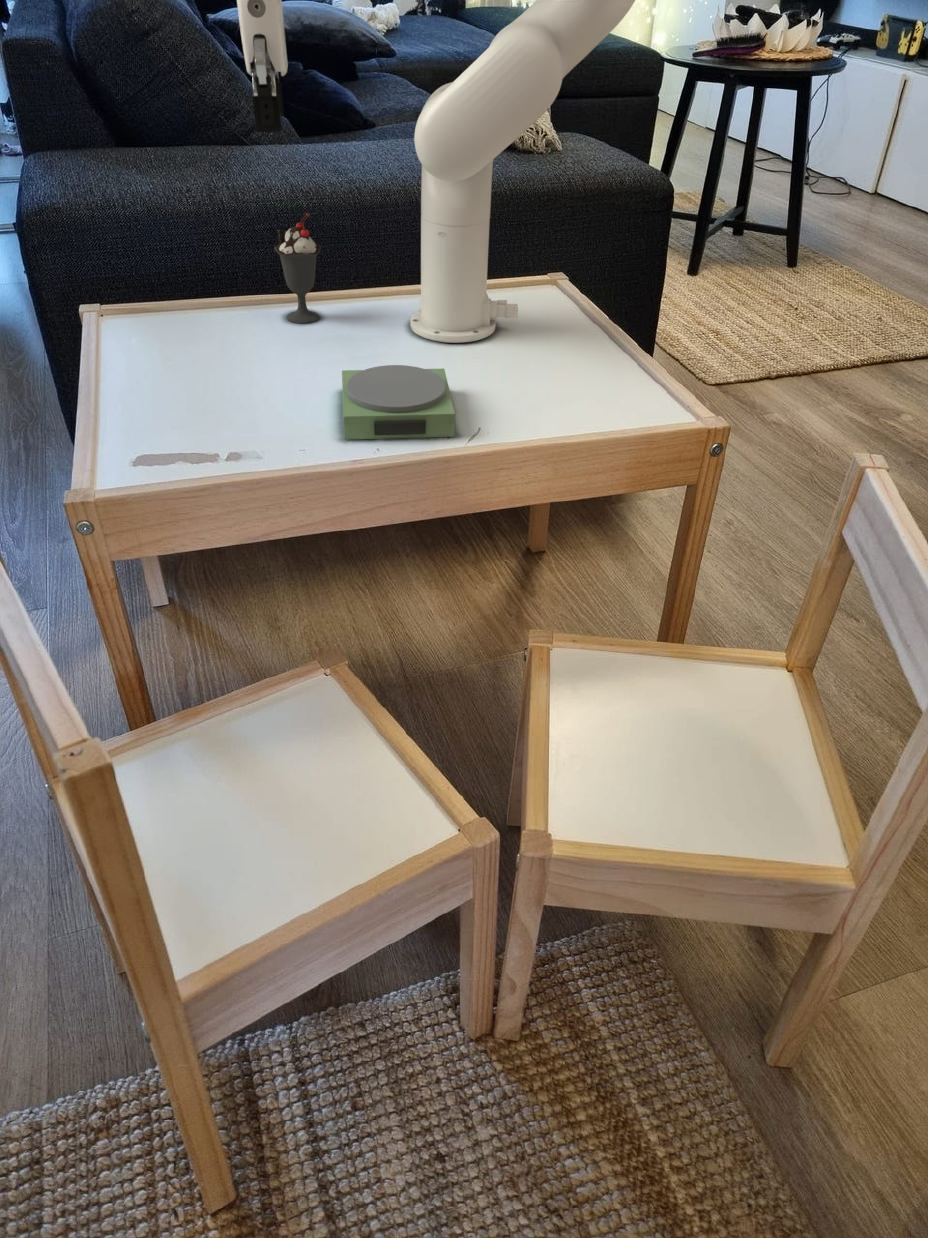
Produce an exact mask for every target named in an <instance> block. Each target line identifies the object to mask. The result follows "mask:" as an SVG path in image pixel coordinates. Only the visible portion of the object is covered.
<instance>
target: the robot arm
mask: <svg viewBox="0 0 928 1238" xmlns="http://www.w3.org/2000/svg"><path fill="white" fill-rule="evenodd" d="M635 2H636V0H536V1H534V2H533V3H532V4H531V5H530V6H529V7H528V8H527V9H526V10H525V11H523V12H522V14H520V15H519V16H518V17H517V18H515V19H514V20H513V21H512V22H511V23H509V24H507V25H506V26H504V27H503V28H502V29H501V30H500V31H498V33H497V34H496V35H495V36H494V38H493V39H492V41H491V42H490V43H489V46H488V48H487V49H485V50H484V51H483V52H482V53H481V54H480V55H479V56H478V57H477V59H475V60H474V61H473V62H472V63H471V64H470V65H469V66H468V67H467V68H466V69H465V70H464V71H463V72H462V73H460V75H459V76H458V77H457V78H456V79H455V80H453V81H451V82H448V83H445V84H443V85H441V86H440V87H438V88H437V89H435V90H434V92H432V93H431V94H430V96H429V97H428V98H427V100H426V101H425V103H424V105H423V107H422V109H421V111H420V114H419V116H418V118H417V120H416V124H415V129H414V135H413V139H414V140H413V141H414V142H413V143H414V149H415V153H416V156H417V159H418V161H419V163H420V164H421V182H420V183H421V184H420V309H419V310H417V311H415V313H413V314H412V315H411V316H410V320H409V321H410V324H409V325H410V329H411V331H413V333H415V334H416V335H418V336H420V337H421V338H424V339H427V340H431V341H435V342H441V343H448V344H449V343H452V344H453V343H454V344H460V343H470V342H476V341H480V340H483V339H485V338H488V337H489V336H492V335H493V333H494V332H495V331H496V324H497V321H496V320H497V318H505V319H509V318H510V319H511V318H512V319H516V318H518V316H519V306H518V303H508V301H507V299H497V300H492V299H491V298H490V297H489V295H488V292H487V291H488V290H487V289H488V288H487V286H488V267H489V245H490V243H489V242H490V223H491V221H490V219H491V206H492V205H491V204H492V184H493V165H494V160H495V158H497V156H499V155H500V154H501V153H502V152H503V151H504V150H506V149H507V148H508V147H509V146H511V144H512V143H514V142H515V141H516V140H517V139H518V138H519V137H520V136H521V135H522V134H524V133H525V132H526V131H527V130H528V129H529V128H531V127H532V126H533V125H534V124H535V123H536V122H537V121H538V120H540V118H541V117H542V116H543V115H544V114H545V113H546V112H547V111H548V110H549V108H550V107H551V106H552V105H553V104H554V102H555V100H556V99H557V97H558V95H559V92H560V90H561V86H562V83H563V80H564V78H565V77H566V76H567V75H568V74H569V73H570V72H571V71H572V70H573V69H574V68H575V67H576V66H577V65H578V64H579V63H581V62H582V60H584V59H585V58H586V57H587V56H588V55H589V54H590V53H591V52H592V51H593V50H594V49H595V48H596V47H597V46H598V45H599V44H600V43H601V42H602V41H604V39H605V38H606V37H608V35H609V34H610V33H611V32H612V31H613V30H614V29H616V27H617V26H618V25H619V24H620V23H621V21H622V20H623V19H624V18H625V17H626V15H627V14H628V13H629V11H630V10H631V8H632V7H633V5H634V3H635ZM236 6H237V14H238V22H239V31H240V37H241V45H242V51H243V58H244V63H245V67H246V68H245V69H246V72H247V74H248V75H249V76H251V77H252V92H253V93H252V94H253V95H252V96H251V97H252V106H253V114H254V115H253V116H254V125H255V130H256V132H258V133H280V132H281V131H282V117H284V115H285V111H284V101H283V91H282V89H283V88H282V82H280V76H281V77H284V76H286V74H288V67H289V63H288V54H287V42H286V32H285V19H284V10H283V0H236ZM279 73H280V75H279Z"/></svg>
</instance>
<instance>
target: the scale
mask: <svg viewBox="0 0 928 1238" xmlns="http://www.w3.org/2000/svg"><path fill="white" fill-rule="evenodd" d="M341 384H342V385H341V387H342V388H341V389H342V390H341V391H342V414H343V416H342V417H343V434H344V435H343V436H344V440H345V441H349V440H350V441H351V440H352V441H353V440H381V439H385V440H387V439H423V438H453V437H454V438H455V437H456V411H455V406H454V402H453V399H452V394H451V391H450V386H449V382H448V377H447V375H446V370H445V368H422V367H419V366H414V365H405V364H404V365H403V364H389V365H379V366H373V367H370V368H366V369H354V370H353V369H352V370H351V369H347V370H346V369H345V370H344V369H343V370H341Z"/></svg>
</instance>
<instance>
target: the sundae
mask: <svg viewBox="0 0 928 1238" xmlns="http://www.w3.org/2000/svg"><path fill="white" fill-rule="evenodd" d="M310 216H311V214H310V213H308V212H305V215H304V216H303V217H302V218H301V220H300V222H297V223H296V224H295V226H293V227H290V228H288V230H283V229H278V230H277V233H278V240H279V243H277V245H276V246H274V247H273V249H274V251H275V252H276V253H277V254H278V255H279V258H280V262H281V267H282V271H283V277H284V279H285V283H286V286H287V288H289V290H290V291H292V293H294V294H295V295H297V309H296V310H295V311H291V312H289V313H287V315H286V317H285V318H286V320H287V321H289V322H291V323H294V324H310V323H311V324H312V323H315V322H317V321H318V320H319V319H320V317H321V316H320V314H319V313H318V312H316V311H312V310H309V309H308V306H307V301H306V295H307V294H308V293H309V292H310V291H311V290H312V289H313V288H314V286H315V280H316V267H317V256H318V255H319V254H320V253H321V250H322V245H321V244H317V243H316V242H315V240H314V239H313V238H312V237H311V236H310V231H309V230H308V229H306V227H305V222H306V220H307V219H308V218H309V217H310Z"/></svg>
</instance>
